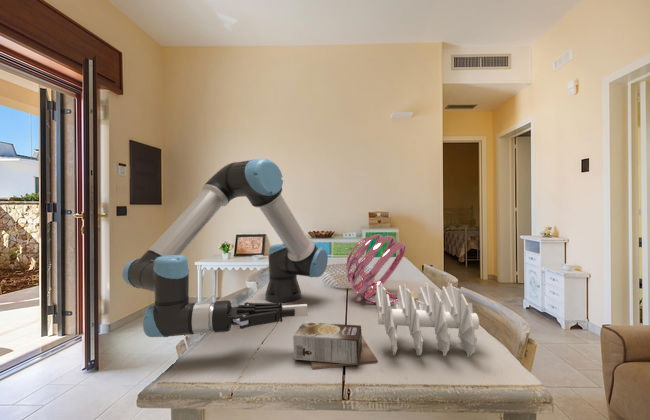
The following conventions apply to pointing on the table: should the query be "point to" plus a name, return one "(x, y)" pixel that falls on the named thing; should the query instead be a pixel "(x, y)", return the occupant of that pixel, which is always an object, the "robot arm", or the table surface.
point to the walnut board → (365, 358)
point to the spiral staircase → (429, 316)
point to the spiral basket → (367, 259)
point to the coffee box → (328, 343)
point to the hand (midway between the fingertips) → (307, 309)
